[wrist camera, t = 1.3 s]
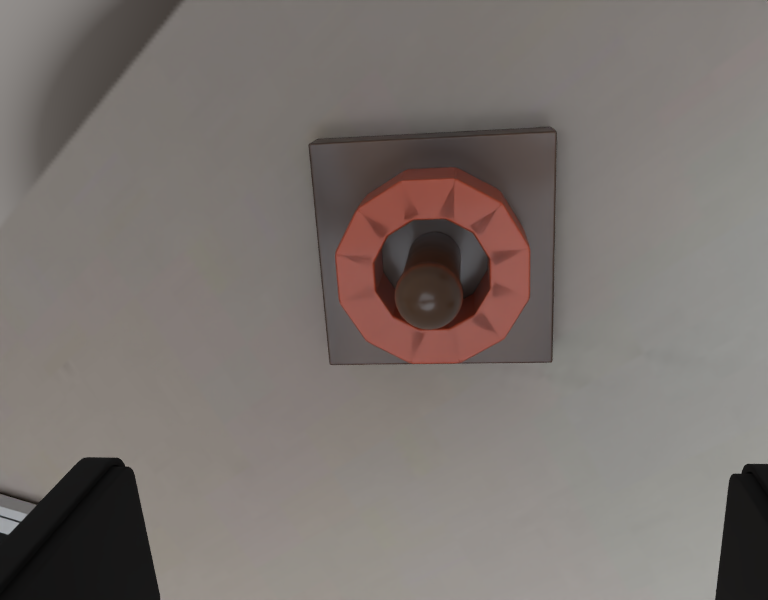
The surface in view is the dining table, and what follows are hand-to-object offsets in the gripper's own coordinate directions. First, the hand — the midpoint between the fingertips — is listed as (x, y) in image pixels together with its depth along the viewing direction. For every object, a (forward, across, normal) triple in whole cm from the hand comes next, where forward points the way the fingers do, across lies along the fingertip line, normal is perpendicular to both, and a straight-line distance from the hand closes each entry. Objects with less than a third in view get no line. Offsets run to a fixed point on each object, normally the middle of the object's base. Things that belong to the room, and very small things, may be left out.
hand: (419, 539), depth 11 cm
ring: (+17, +1, 0) cm, 17 cm away
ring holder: (+18, +1, 0) cm, 18 cm away
